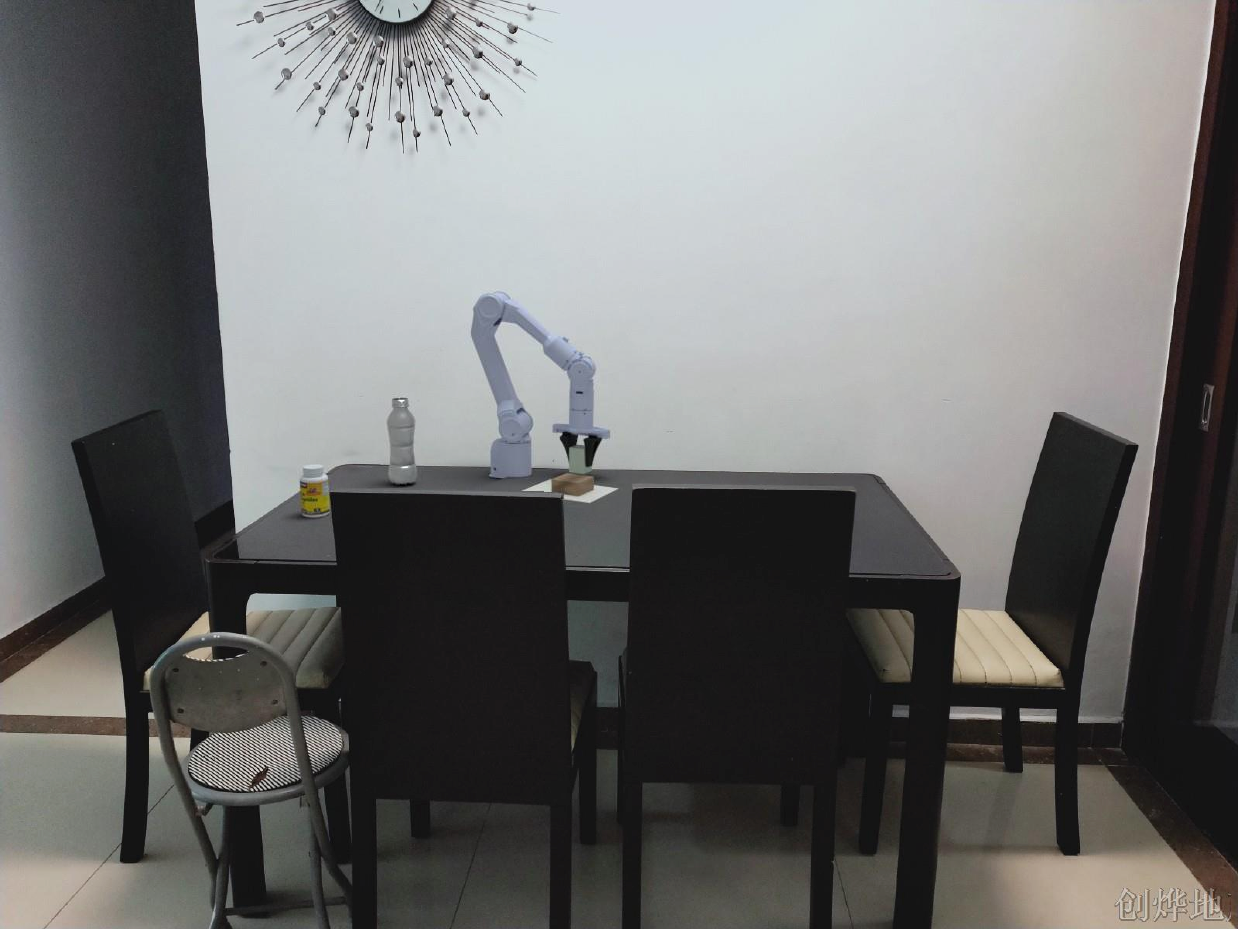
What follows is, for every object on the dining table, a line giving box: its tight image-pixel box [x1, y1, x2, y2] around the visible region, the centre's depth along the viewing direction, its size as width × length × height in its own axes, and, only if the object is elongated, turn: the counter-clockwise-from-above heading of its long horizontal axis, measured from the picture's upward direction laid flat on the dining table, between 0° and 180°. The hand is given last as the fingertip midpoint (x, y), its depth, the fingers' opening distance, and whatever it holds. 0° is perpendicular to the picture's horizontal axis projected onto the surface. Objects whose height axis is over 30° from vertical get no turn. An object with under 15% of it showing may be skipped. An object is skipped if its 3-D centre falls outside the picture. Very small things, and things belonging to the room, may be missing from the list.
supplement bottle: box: [299, 463, 331, 519], centre depth 193 cm, size 6×6×10 cm
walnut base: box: [550, 472, 595, 496], centre depth 212 cm, size 7×7×3 cm
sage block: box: [568, 444, 593, 475], centre depth 225 cm, size 4×4×6 cm
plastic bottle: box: [386, 397, 418, 485], centre depth 217 cm, size 6×7×20 cm
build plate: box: [522, 478, 619, 504], centre depth 213 cm, size 18×14×1 cm
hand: (580, 465), depth 225 cm, fingers closed on sage block, 4 cm apart
